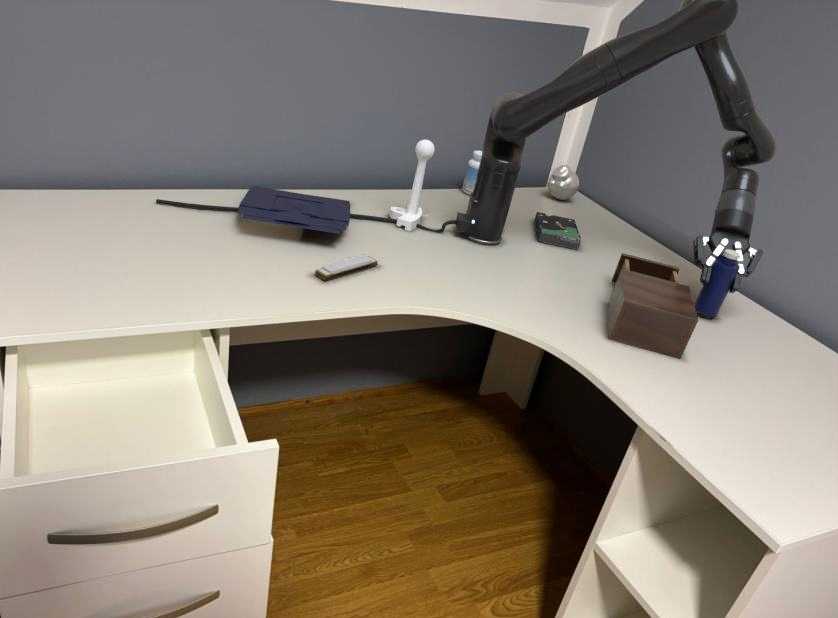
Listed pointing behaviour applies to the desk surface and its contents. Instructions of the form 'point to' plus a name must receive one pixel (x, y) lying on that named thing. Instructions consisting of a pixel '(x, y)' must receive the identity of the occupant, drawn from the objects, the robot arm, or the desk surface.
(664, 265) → the drawer
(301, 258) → the desk surface
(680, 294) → the cabinet
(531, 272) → the desk surface
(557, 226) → the disk drive
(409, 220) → the joystick
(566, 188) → the silver rounded lump
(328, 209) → the laptop stand
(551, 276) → the desk surface
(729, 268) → the bottle
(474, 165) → the pill bottle
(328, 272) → the harmonica
